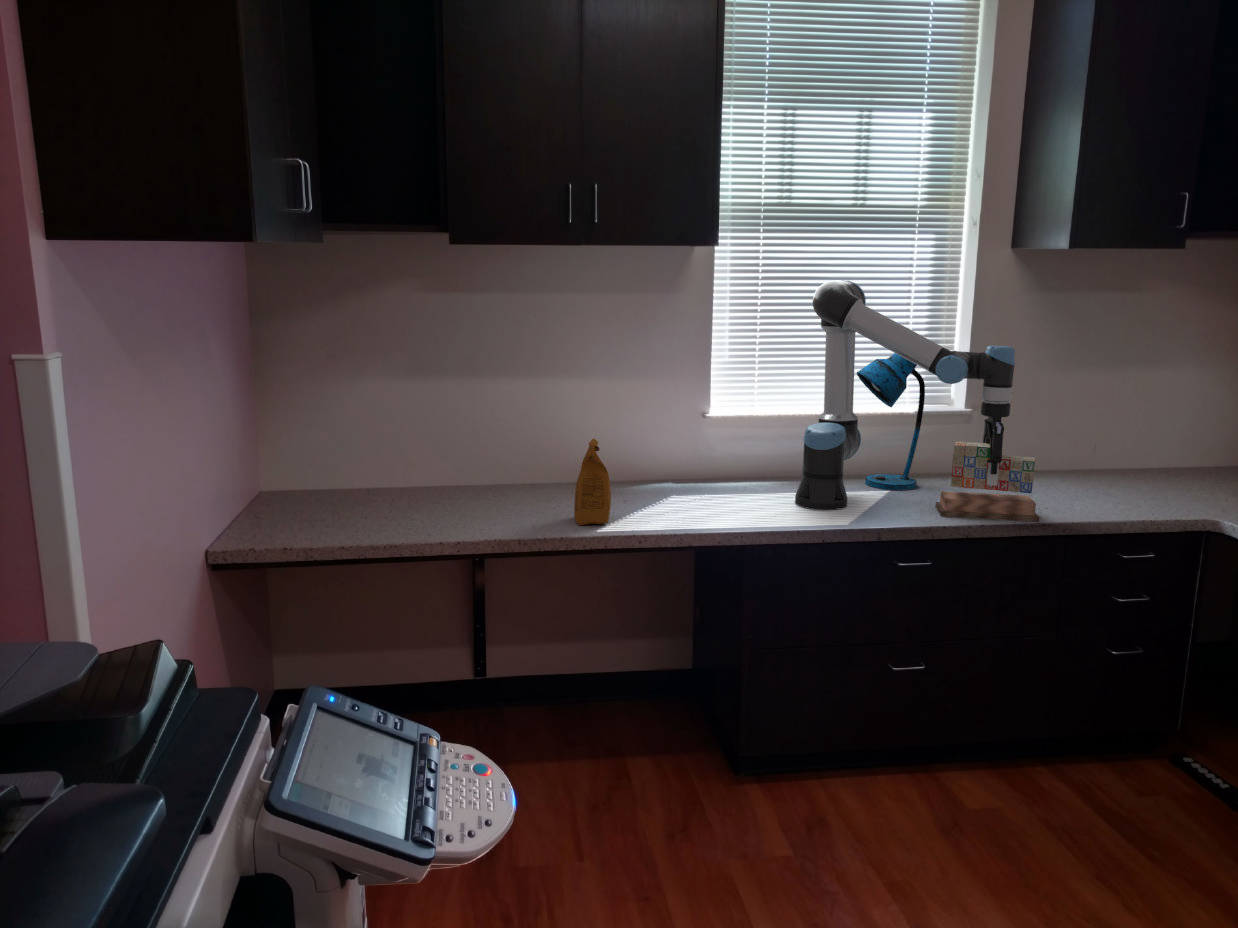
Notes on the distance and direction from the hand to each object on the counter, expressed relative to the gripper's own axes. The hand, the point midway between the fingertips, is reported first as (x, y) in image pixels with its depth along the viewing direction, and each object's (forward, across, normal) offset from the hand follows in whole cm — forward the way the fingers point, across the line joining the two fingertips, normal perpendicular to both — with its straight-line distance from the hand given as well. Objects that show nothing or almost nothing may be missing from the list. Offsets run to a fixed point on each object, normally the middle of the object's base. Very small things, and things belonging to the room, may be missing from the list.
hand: (988, 481), depth 264 cm
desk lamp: (+9, +32, +25) cm, 42 cm away
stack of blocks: (+2, 0, -1) cm, 2 cm away
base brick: (+9, 0, 0) cm, 9 cm away
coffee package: (+9, -32, +108) cm, 113 cm away
